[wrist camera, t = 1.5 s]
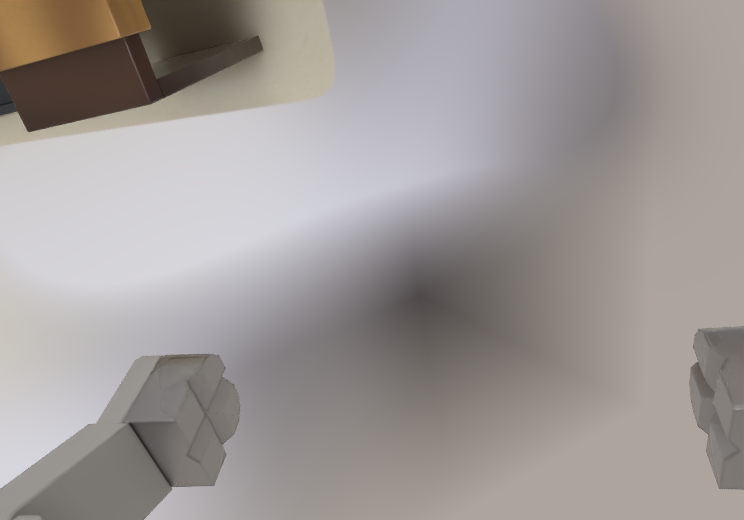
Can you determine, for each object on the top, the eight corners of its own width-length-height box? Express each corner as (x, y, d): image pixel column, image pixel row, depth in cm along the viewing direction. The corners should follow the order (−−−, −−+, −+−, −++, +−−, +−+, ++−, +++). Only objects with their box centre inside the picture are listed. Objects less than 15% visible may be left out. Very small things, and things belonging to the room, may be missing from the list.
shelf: (107, -74, 50) (-72, -67, 36) (212, -111, 47) (61, -120, 33) (164, 74, 55) (27, 132, 41) (263, 50, 52) (151, 104, 38)
